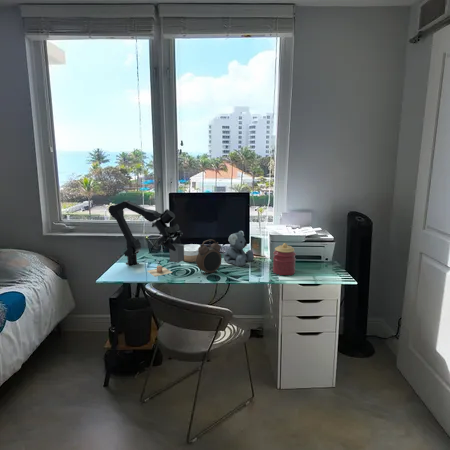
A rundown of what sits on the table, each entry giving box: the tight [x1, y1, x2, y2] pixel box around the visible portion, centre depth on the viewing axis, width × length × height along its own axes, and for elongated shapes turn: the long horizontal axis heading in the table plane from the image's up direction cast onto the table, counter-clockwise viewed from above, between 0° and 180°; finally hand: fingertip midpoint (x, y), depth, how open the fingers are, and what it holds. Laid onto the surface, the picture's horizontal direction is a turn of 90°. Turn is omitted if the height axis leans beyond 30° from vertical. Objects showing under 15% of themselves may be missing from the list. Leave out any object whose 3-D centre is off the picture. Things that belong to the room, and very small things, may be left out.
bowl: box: [183, 243, 201, 263], centre depth 229 cm, size 16×16×8 cm
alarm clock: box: [195, 239, 222, 276], centre depth 201 cm, size 14×7×20 cm, turn 126°
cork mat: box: [146, 266, 173, 278], centre depth 205 cm, size 11×11×1 cm
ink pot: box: [156, 265, 163, 273], centre depth 204 cm, size 3×3×3 cm
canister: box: [272, 242, 297, 276], centre depth 203 cm, size 13×13×18 cm
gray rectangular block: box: [168, 243, 185, 263], centre depth 206 cm, size 6×6×10 cm
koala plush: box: [223, 230, 255, 267], centre depth 223 cm, size 17×18×20 cm
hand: (178, 249), depth 205 cm, fingers closed on gray rectangular block, 6 cm apart
